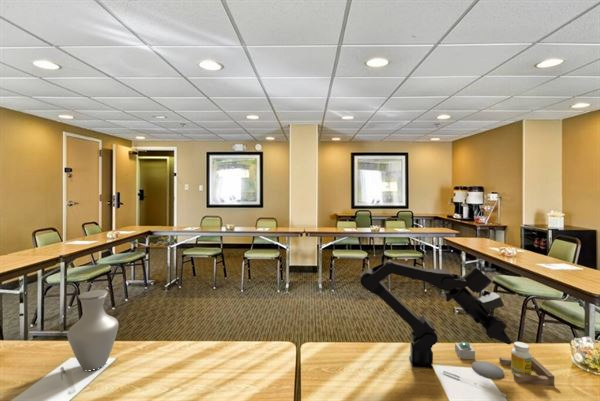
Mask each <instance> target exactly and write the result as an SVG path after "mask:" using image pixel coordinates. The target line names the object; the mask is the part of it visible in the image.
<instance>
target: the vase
mask: <svg viewBox="0 0 600 401" xmlns="http://www.w3.org/2000/svg"><path fill="white" fill-rule="evenodd" d="M108 293H109V291H107V290H106V289H95V290H88V291H85V292H82V293H80V294H79V295H77V298H78V299H79V301H80V303H81V305H82V308H83V311H82V315H81V317H80V318H79V320H77V321H76V322H75V323H74V324H72V325H71V327H70V328H69V329H68V330H67V336H66V338H67V341H68V344H69V345H70V347H71V350H72V352H73V354H74V356H75V359H76V361H77V362H78V365H79V366H80V367H81V368H82V370H83V369H84V370H93V369H98V368H100V367H102V366H104V365H105V366H106V365H107V363H106V362H108V360H109V357H110V354H111V352H112V350H113V347H114V344H115V341H116V337H117V333H118V330H119V324H120V323H119V321H118V319H117V318H115V317H114V316H112V315H109V314H107V313H106V311H105V309H104V302H105V300H106V297H107V295H108ZM105 366H104V367H105ZM102 368H103V367H102ZM100 369H101V368H100ZM84 370H83V371H84ZM98 370H99V369H98Z"/></svg>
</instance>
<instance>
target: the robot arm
mask: <svg viewBox="0 0 600 401" xmlns="http://www.w3.org/2000/svg"><path fill="white" fill-rule="evenodd" d="M391 274H393V275H396V276H401V277H404V278H409V279H413V280H416V281H421V282H425V283H428V284H430V285H432V286H433V287H435V288H438V289H439V290H442V291H443V293H444V294H443V298H444V300H445V301H446V302H450V301H451V300H453V301H454V302H455V303H456V304H457V305H458V306H459V308H461V309H462V310H463V311H464V312H465V313H466V314H467V316H469V317H470V318H471V320H473V321H474V322H475V323H476V324H480V325H481V330H482V332H483V333H484V334H485V335H487V337H488V338H490V339H492V340H493V339H494V340H496V341H499V342H502V343H504V344H507V345H511V344H512V343H513V342H512V340H511V338H510V337H509V335H508V334H507V333H506V331H505V329H506V328H507V326H508V325H507V323H505V322H504V321H503V320H502V319H500V318H499V317H498V316H497V315H496V316H495V315H492V313H493V310H495V309H498V308H502V307H504V306H505V303H504V301H503V299H502V298H501V295H499V294H498V293H497V292H493V291H491V292H490V291H488V290H487V289H486V288H488V287H489V286H490V285H491V284H493V281H492V280H491V278H489V276H487V275H486V274H484V273H483V272H482V271H481V270H479V268H477V266H473V267H472V268H471V269H470V270H469V271H468V272H467V273H466V274H465V275H464V274H463V276H462V275H461V274H457V273H451V272H450V271H449V270H447V269H443V268H442V269H441V268H431V269H429V268H424V267H423V268H422V267H418V266H413V265H410V264H405V263H400V262H396V261H393V260H392V259H387V260H385V261H384V262H382V263H380V264H378V265H376V266H374V267H372V268H366V269H364V270H363V271H362V272H361V275H360V284H361V286H362V287H363V288H364V289H365V290H366V291H368V292H370V293H371V294H373V295H375V296H377V297H379V298H380V299H381V300H382V301H383V303H385V304H386V305H388V307H390V308H391V310H393V311H394V312H395V314H397V315H398V316H399V317H400V319H402V320H403V321H404V322H405V323H406V324H408V326H409V327H410V329H411V330H412V331H411V333H410V337H411V342H410V344H409V346H410V353H409V354H410V355H409V357H408V358H409V362H410V364H411V366H412V368H420V369H433V364H434V352H433V350H432V348H433V346H434V345H436V343H437V342H438V338H439V337H438V335H437V332H436V328H435V325H434V324H433V321H430V320H429V319H428V318H427V316H425V314H422V315H421V316H419V315H417V314H415V313H414V312H413V310H412V309H410V308H409V306H407V305H406V304H405V303H404V302H403V301H402V300H401V299H400V298H399V297H397V296H396V295H395V294H394V292H392V291H391V290H390V288H388V287H387V286H386V285H385V283H384V281H383V280H384V279H386V278H387V277H388V276H390V275H391ZM467 287H468V289H469V290H468V289H467ZM472 292H473V293H472ZM475 293H476V294H478V293H479V294H480V293H481V295H480V297H479V298H478V297H477V296H475V295H474V294H475ZM491 315H492V316H491Z"/></svg>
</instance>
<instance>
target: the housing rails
mask: <svg viewBox="0 0 600 401" xmlns="http://www.w3.org/2000/svg"><path fill="white" fill-rule="evenodd" d="M498 363H499V364H500V366H505V367H511V357H502V356H501V357H499V362H498ZM531 371H533V372H534V373H535V375H534V374H531V375H526V374H515V373H513V381H514V382H515V383H517V384H527V385H528V384H529V385H541V386H550V387H555V375H553V374H552V373H551V372H550V371H549V369H547V368H546V367H545V366H544V365H543V364H541V362H539V361H538V360H537V359H536V358H535V357H534V356H532V358H531Z"/></svg>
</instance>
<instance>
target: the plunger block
mask: <svg viewBox="0 0 600 401" xmlns="http://www.w3.org/2000/svg"><path fill="white" fill-rule="evenodd" d="M454 351H455V353H456V355H457V357H458V358H459V359H466V360H467V359H468V360H469V359H470V360H476V350H475V349H474V347H473V346H472V345H471V344H470V347H469V349H461V346H460V342H459V343H458V342H455V344H454Z"/></svg>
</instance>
